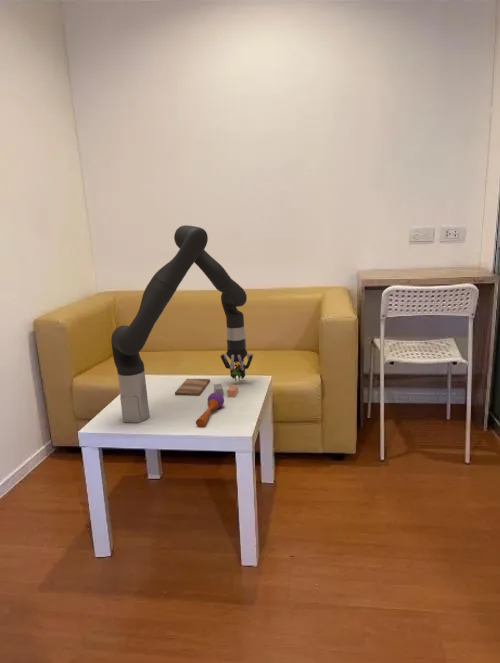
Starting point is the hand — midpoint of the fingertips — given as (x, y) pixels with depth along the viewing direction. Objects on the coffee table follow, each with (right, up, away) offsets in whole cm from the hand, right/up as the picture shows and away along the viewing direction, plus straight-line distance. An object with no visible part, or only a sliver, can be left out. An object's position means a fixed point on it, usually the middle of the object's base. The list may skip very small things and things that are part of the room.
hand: (238, 377), depth 213 cm
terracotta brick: (-2, -6, -11) cm, 12 cm away
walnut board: (-18, -4, -1) cm, 19 cm away
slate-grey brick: (-7, -6, -9) cm, 13 cm away
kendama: (-9, -11, -29) cm, 32 cm away
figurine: (0, -1, 0) cm, 1 cm away
